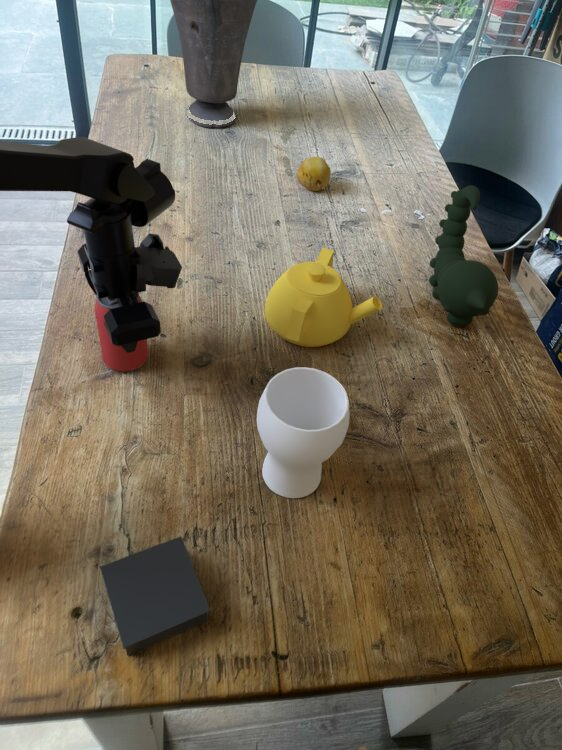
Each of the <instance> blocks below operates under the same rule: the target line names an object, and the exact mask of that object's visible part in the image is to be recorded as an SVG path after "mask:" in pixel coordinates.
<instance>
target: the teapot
mask: <svg viewBox="0 0 562 750" xmlns="http://www.w3.org/2000/svg"><path fill="white" fill-rule="evenodd" d="M334 254H335V250H332V249H329V248H326V247H322V248H321V251H320V252H319V254H318V255H317V258H316V260H315V261H303V262H300V263H296V264H295V265H292V266H291V267H289V269H287V270H286V271H285V272H284V273H283V274H281V276H280V277H279V278H278V279H276V281H275V282H274V284H273V285H272V287H271V289H269V292H268V295H267V296H266V300H265V305H264V317H265V319H266V322H267V324H268V326H269V327H270V328H271V329H272V330H273V331H274V333H276V334H277V335H278V336H279V337H280V338H282V339H283V340H285V341H287V342H288V343H290V344H293V345H295V346H300V347H305V348H317V347H318V348H319V347H323V346H327V345H329V344H332V343H334V342H336V341H339V340H340V339H341V338H343V337H344V336H345V335H346V334H347V333H348V331H349V330H350V328H351V326H352V325H353V324H355V323H357V322H358V321H361V320H363V319H365V318H367V317H369V316H371V315H373V314H375V313H377V312H379V311H381V310H383V302H382V301H381V299H380V298H379V297H378V296H376V295H375V296H372V297H370V298H369V299H367V300H365V301H363V302H361V303H359V304H357V305H356V306H354V307H353V301H352V296H351V294H350V291H349V289H348V286H347V285H346V283H345V280H344V279H343V277H342V276H341V275H340V274H339V272H338V271H337V270H336V269H334V268H333V263H334Z"/></svg>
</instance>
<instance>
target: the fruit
mask: <svg viewBox="0 0 562 750" xmlns="http://www.w3.org/2000/svg"><path fill="white" fill-rule="evenodd" d="M331 175H332V174H331V167H330V166H329V164H328V163H327V161H326V160H325V159H324V158H323V157H320V156H310V157H307V158H305V159H304V160H303V161H302V162H301V163H300V165H299V166H298V169H297V172H296V178H297V181H298V183H299V184H300V185H301V186H303V187H304V188H306V190H309V191H313V192H314V191H315V192H318V191H322V190H323V189H324V188H326V187H327V185H328V184H329V182H330V180H331Z"/></svg>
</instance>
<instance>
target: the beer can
mask: <svg viewBox="0 0 562 750" xmlns="http://www.w3.org/2000/svg"><path fill="white" fill-rule="evenodd" d="M133 292H134V294H135V296H136V298H137V300H138V302H139V303H140V302H143V300H142V297H141V295H140V292H139V293H137V292H136V291H133ZM95 297H96V298H95V299H96V300H95V302H94V309H93V310H94V316H95V321H96V327H97V334H98V339H99V344H100V345H99V346H100V350H101V357H102V360H103V363H104V364H105V365H106V366H107V367H108V368H110V369H111V370H114V371H116V372H117V371H118V372H131V371H135V370H137V369H139V368H141V367H142V366H143V365H144V364H146V361H147V360H148V358H149V346H148V345H149V344H148V339H145V340H141V341H138V343H137V346H136V349H135V351H134V352H130V353H127V352H126V351H125V350H124V349H123V348H122V347H121V346H116V345H113V344H112V342H111V339H110V337H109V334H108V332H107V329H106V327H105V324H104V322H105V321H104V315H105V314H106V313H107V312H108V311H109V310H110V309H113V308H117V307H120V305H119V303H118V301H117V299H115V300H112V301H108V300H107V298H106V297H105V298H100V299H99V298H98V295H95ZM127 298H128V297H127ZM128 301H129V300H128ZM129 303H130V302H129ZM130 305H131V304H130Z"/></svg>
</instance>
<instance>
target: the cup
mask: <svg viewBox="0 0 562 750" xmlns="http://www.w3.org/2000/svg"><path fill="white" fill-rule="evenodd" d="M350 415H351V413H350V401H349V397H348V393H347V391H346V390H345V387H344V386H343V385H342V384H341V383H340V382H339V380H337V378H336V377H334V376H332V375H330V373H327V372H325V371H323V370H320V369H317V368H312V367H305V366H303V367H299V366H298V367H297V366H296V367H292V368H287V369H284V370H282V371H280V372H278V373H276V374H275V375H274V376H273V377H272V378H271V379H269V381H268V382H267V385H266V386H265V387H264V390H263V392H262V394H261V396H260V398H259V401H258V406H257V412H256V426H257V427H256V428H257V432H258V434H259V437H260V441H261V442H262V445H263V447H264V448H265V450H266V451H267V453H266V456H265V458H264V460H263V463H262V468H261V473H262V478H263V480H264V483H265V485H266V486H267V487H268V488H269V489H270V490H271V491H272V492H273V493H274V494H276V495H279V496H281V497H283V498H287V499H300V498H304V497H307V496H309V495H311V494H313V493H314V492H315V491H316V490H317V488H318V487H319V485H320V483H321V481H322V471H323V468H322V467H323V464H322V463H324V462H326V461H327V460H329V459H330V458H331V457H332V455H333V454H334V453H335V452H336V451H337V450H338V449H339V448H340V447H341V445H342V444H343V442H344V440H345V438H346V436H347V432H348V429H349V425H350V417H351V416H350Z"/></svg>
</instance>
